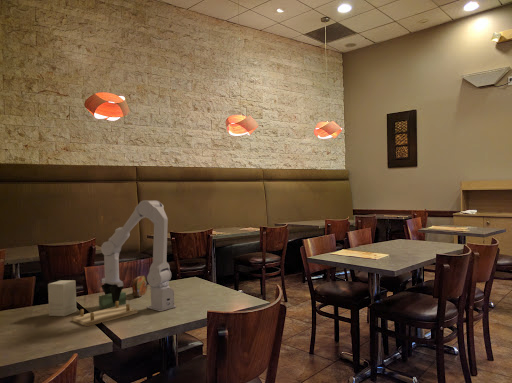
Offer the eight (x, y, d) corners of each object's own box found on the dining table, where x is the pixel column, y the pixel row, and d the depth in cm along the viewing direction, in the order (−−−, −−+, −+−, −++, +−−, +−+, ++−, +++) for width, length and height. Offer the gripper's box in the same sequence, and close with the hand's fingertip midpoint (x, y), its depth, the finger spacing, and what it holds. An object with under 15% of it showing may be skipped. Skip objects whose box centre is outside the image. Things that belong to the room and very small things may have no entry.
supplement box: (77, 311, 158) (76, 280, 159) (63, 316, 151) (62, 284, 152) (62, 310, 160) (61, 279, 161) (48, 316, 153) (47, 283, 154)
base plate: (137, 312, 153) (137, 303, 153) (86, 326, 138) (86, 315, 138) (121, 308, 161) (121, 299, 161) (72, 320, 146) (71, 310, 146)
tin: (138, 298, 177) (137, 279, 177) (131, 298, 177) (130, 280, 177) (148, 290, 192) (147, 273, 192) (141, 291, 192) (141, 273, 192)
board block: (126, 304, 168) (125, 292, 168) (103, 309, 160) (103, 297, 160) (121, 302, 171) (120, 291, 171) (99, 308, 163) (98, 296, 163)
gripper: (94, 269, 168) (95, 301, 167) (111, 272, 158) (112, 306, 158) (110, 267, 173) (110, 297, 173) (127, 270, 163) (128, 302, 163)
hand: (112, 301), depth 165 cm, fingers open, 5 cm apart
